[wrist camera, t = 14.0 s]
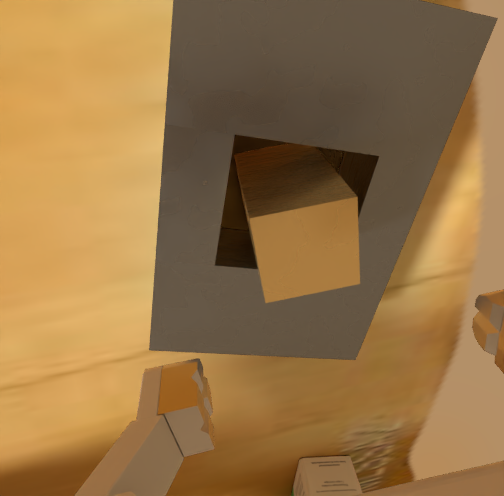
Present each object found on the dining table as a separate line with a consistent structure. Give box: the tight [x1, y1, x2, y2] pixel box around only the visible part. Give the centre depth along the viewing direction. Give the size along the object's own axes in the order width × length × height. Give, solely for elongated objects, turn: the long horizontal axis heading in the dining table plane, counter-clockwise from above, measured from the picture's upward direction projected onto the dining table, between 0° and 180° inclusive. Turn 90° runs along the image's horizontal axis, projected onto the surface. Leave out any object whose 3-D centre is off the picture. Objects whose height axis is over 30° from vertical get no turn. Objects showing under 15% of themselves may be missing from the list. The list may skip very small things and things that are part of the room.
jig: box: [149, 0, 497, 360], centre depth 20 cm, size 18×12×4 cm, turn 170°
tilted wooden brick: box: [234, 143, 360, 303], centre depth 19 cm, size 4×4×8 cm
